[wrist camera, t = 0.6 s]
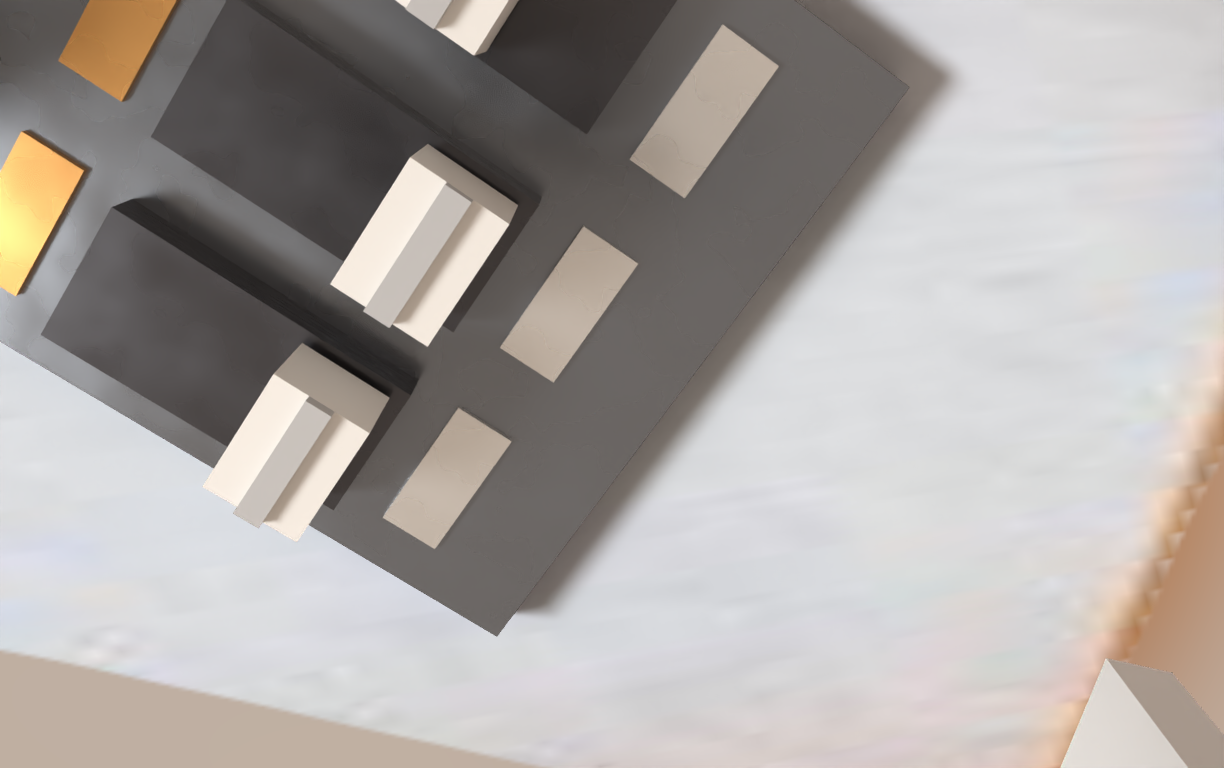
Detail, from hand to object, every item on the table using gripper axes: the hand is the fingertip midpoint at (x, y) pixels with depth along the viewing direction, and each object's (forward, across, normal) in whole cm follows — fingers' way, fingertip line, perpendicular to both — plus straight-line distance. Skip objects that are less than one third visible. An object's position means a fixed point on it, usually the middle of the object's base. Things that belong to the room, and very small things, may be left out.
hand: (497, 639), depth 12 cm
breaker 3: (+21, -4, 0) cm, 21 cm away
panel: (+24, -7, +1) cm, 25 cm away
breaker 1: (+21, -7, -7) cm, 23 cm away
